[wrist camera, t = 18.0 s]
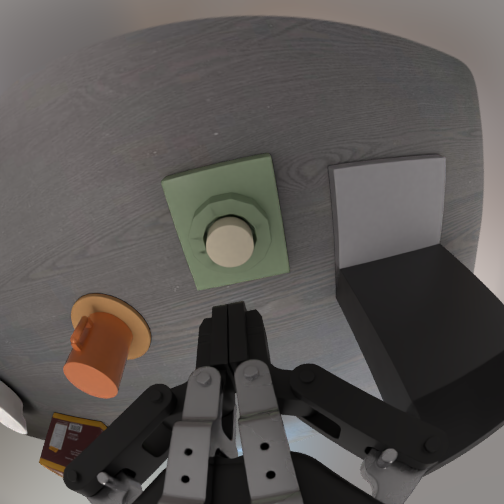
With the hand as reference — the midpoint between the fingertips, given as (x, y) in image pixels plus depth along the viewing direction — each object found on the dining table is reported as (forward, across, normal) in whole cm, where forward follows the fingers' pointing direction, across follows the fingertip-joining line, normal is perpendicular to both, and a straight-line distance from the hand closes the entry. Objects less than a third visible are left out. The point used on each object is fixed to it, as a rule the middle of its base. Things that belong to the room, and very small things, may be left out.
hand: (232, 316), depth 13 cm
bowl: (+13, +69, +29) cm, 76 cm away
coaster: (+13, +18, +11) cm, 25 cm away
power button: (+10, 0, +1) cm, 10 cm away
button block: (+13, 0, +1) cm, 13 cm away
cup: (+12, +18, +11) cm, 24 cm away
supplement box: (+13, +46, +42) cm, 64 cm away
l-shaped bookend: (+13, -16, +5) cm, 21 cm away
